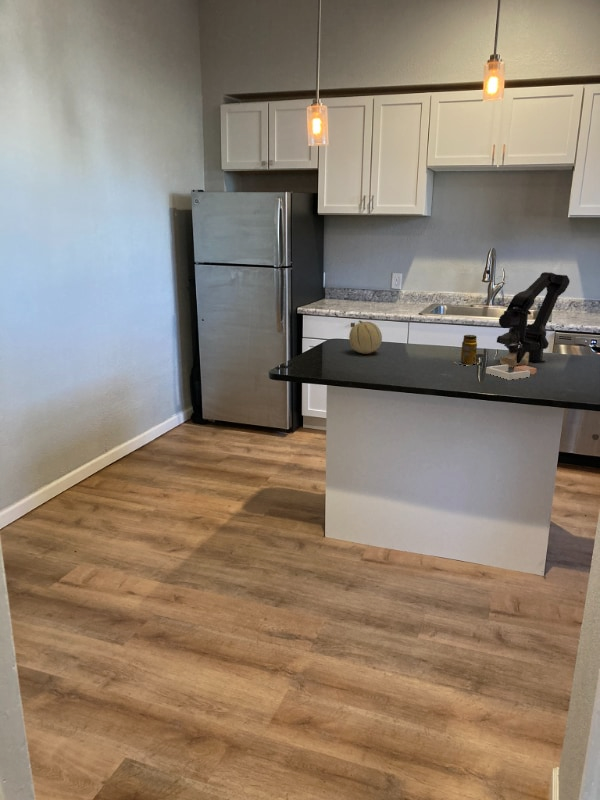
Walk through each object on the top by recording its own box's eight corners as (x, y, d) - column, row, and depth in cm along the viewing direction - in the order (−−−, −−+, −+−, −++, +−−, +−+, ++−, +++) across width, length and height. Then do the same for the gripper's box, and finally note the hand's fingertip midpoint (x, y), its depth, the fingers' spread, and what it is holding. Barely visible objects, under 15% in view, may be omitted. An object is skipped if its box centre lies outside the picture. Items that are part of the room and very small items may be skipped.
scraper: (519, 361, 262) (520, 350, 261) (532, 365, 256) (533, 353, 255) (499, 364, 257) (501, 352, 256) (512, 367, 251) (513, 356, 250)
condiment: (479, 364, 258) (482, 336, 255) (465, 366, 254) (468, 338, 250) (466, 360, 264) (468, 333, 261) (452, 363, 260) (454, 335, 256)
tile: (524, 371, 247) (525, 365, 247) (535, 374, 242) (536, 368, 241) (513, 372, 245) (514, 366, 244) (524, 376, 240) (525, 370, 239)
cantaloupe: (382, 357, 270) (384, 323, 266) (349, 356, 271) (350, 323, 266) (379, 350, 285) (380, 318, 280) (347, 350, 285) (348, 318, 281)
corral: (506, 370, 247) (506, 364, 246) (529, 377, 236) (530, 371, 236) (485, 373, 242) (486, 367, 242) (508, 380, 232) (509, 373, 231)
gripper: (488, 323, 257) (485, 360, 261) (522, 330, 241) (518, 369, 245) (508, 322, 261) (504, 357, 266) (542, 328, 245) (538, 366, 250)
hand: (515, 362), depth 256 cm, fingers closed on scraper, 2 cm apart
